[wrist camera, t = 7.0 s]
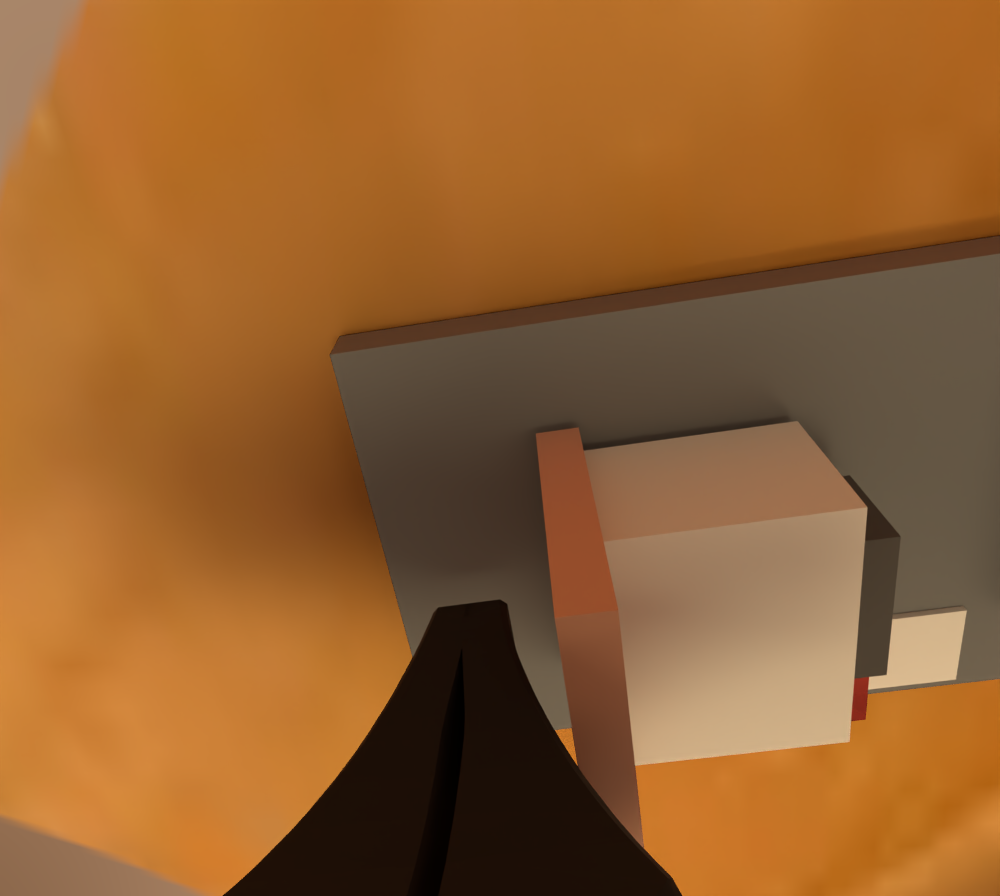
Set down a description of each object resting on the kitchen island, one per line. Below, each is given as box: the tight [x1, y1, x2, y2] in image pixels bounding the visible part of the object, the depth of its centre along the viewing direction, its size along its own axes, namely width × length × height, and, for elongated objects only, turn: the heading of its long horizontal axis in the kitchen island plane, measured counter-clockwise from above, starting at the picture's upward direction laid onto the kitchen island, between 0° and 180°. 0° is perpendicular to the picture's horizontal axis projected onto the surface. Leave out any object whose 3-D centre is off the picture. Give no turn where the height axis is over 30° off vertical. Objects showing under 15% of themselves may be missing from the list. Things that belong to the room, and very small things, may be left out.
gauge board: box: [330, 236, 1000, 730], centre depth 14 cm, size 16×10×6 cm, turn 99°
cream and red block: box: [536, 421, 901, 848], centre depth 13 cm, size 6×8×5 cm
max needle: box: [851, 677, 869, 721], centre depth 16 cm, size 1×2×1 cm, turn 10°
